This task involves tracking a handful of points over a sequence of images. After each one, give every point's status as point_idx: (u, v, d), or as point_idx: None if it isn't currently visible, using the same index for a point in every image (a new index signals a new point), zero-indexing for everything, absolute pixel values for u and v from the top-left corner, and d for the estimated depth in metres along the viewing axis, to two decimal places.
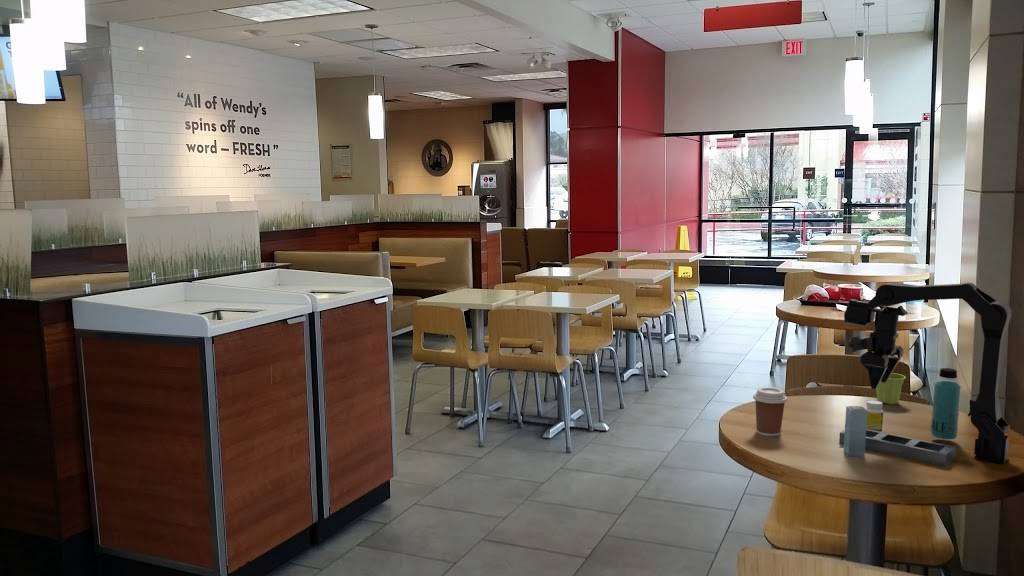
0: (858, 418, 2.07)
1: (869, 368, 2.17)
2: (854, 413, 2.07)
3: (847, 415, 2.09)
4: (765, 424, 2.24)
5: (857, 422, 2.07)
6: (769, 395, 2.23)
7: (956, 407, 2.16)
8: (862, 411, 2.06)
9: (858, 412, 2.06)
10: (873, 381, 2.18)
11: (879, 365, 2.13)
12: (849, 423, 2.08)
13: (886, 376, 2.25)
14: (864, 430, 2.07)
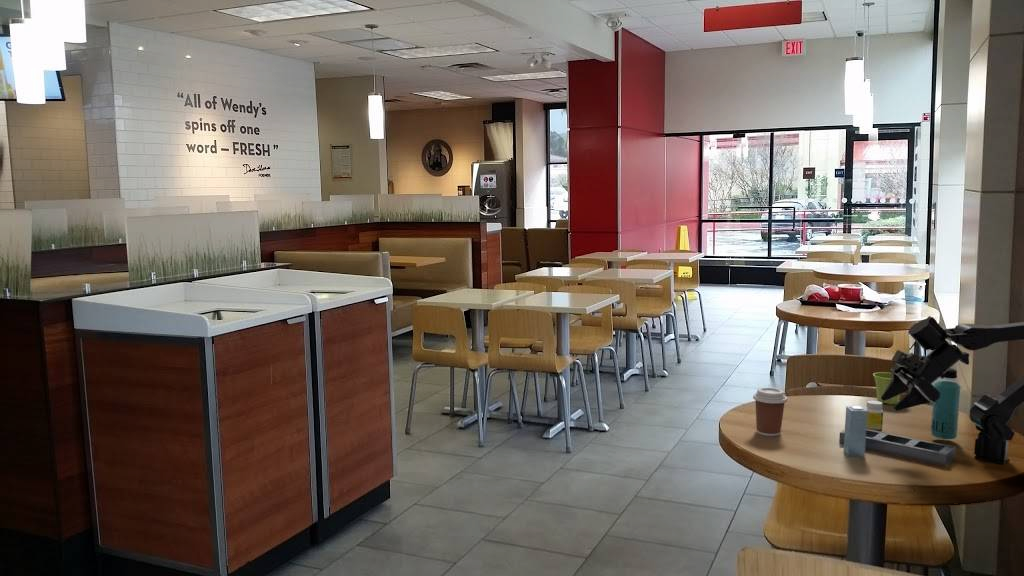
0: (858, 418, 2.07)
1: (912, 392, 2.00)
2: (854, 413, 2.07)
3: (847, 415, 2.09)
4: (765, 424, 2.24)
5: (857, 422, 2.07)
6: (769, 395, 2.23)
7: (956, 407, 2.16)
8: (862, 411, 2.06)
9: (858, 412, 2.06)
10: (902, 403, 2.02)
11: (932, 399, 1.97)
12: (849, 423, 2.08)
13: (889, 396, 2.12)
14: (864, 430, 2.07)
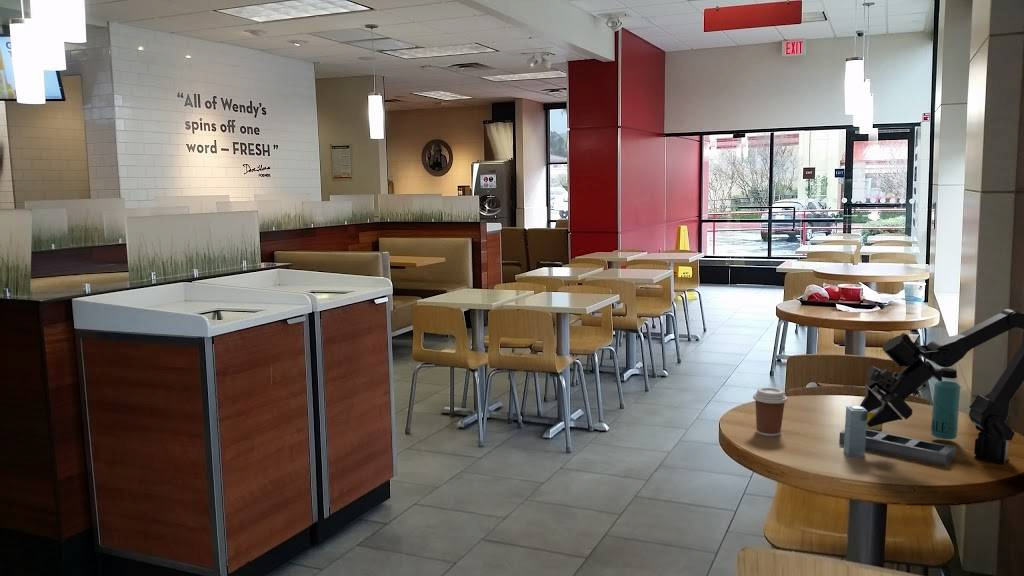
0: (858, 418, 2.07)
1: (885, 409, 2.01)
2: (854, 413, 2.07)
3: (847, 415, 2.09)
4: (765, 424, 2.24)
5: (857, 422, 2.07)
6: (769, 395, 2.23)
7: (956, 407, 2.16)
8: (862, 411, 2.06)
9: (859, 412, 2.06)
10: (875, 420, 2.03)
11: (905, 416, 1.98)
12: (849, 423, 2.08)
13: None
14: (864, 430, 2.07)
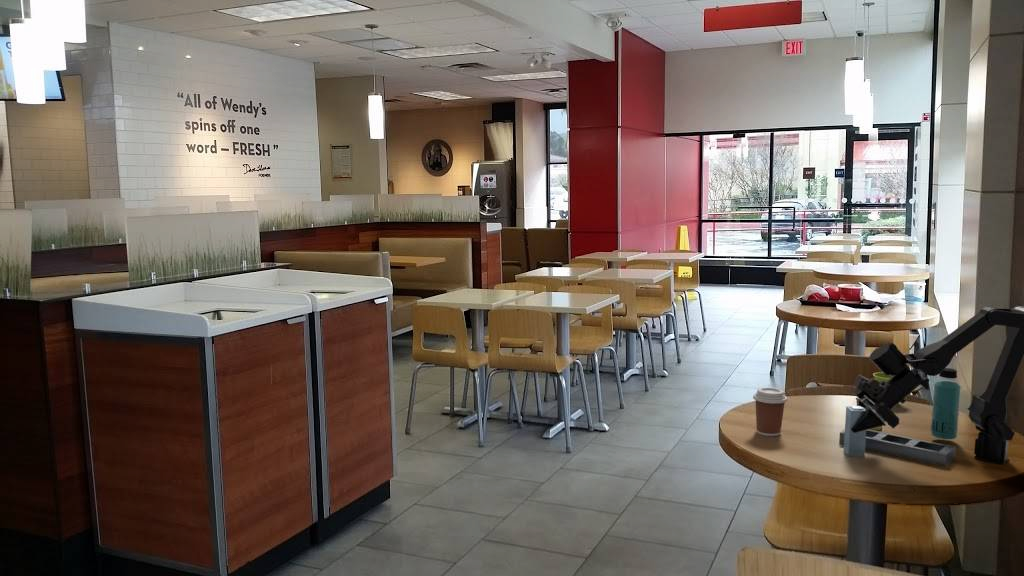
0: (858, 418, 2.07)
1: (869, 415, 2.04)
2: (854, 413, 2.07)
3: (847, 415, 2.09)
4: (765, 424, 2.24)
5: None
6: (769, 395, 2.23)
7: (956, 407, 2.16)
8: (862, 411, 2.06)
9: (859, 412, 2.06)
10: (859, 426, 2.06)
11: (891, 425, 1.99)
12: (849, 423, 2.08)
13: None
14: (864, 430, 2.07)
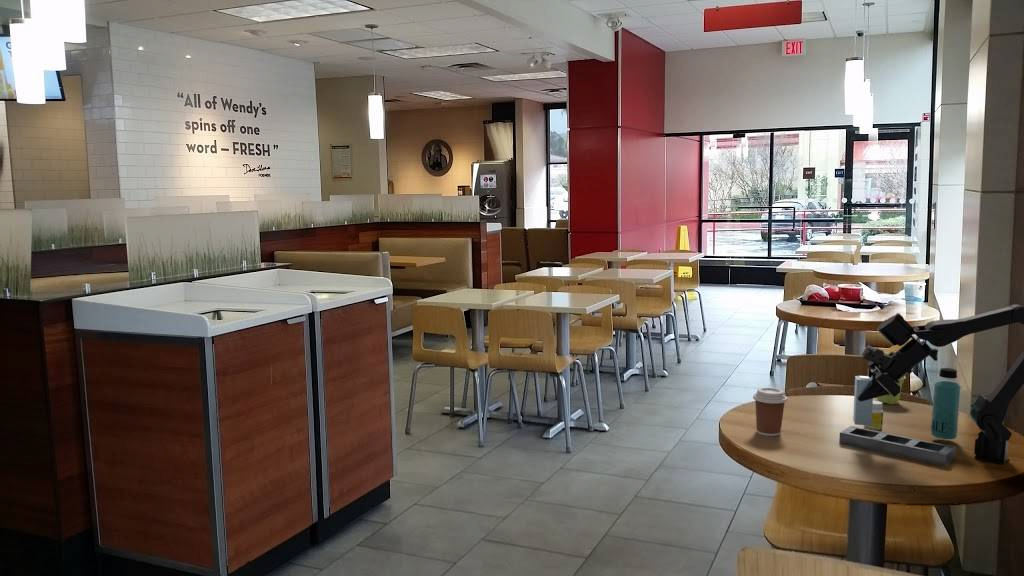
0: (864, 387, 2.11)
1: (874, 384, 2.09)
2: (860, 382, 2.12)
3: (855, 384, 2.14)
4: (765, 424, 2.24)
5: None
6: (769, 395, 2.23)
7: (956, 407, 2.16)
8: (868, 380, 2.11)
9: (865, 381, 2.11)
10: (865, 394, 2.11)
11: (892, 393, 2.03)
12: (856, 392, 2.13)
13: None
14: (870, 399, 2.11)
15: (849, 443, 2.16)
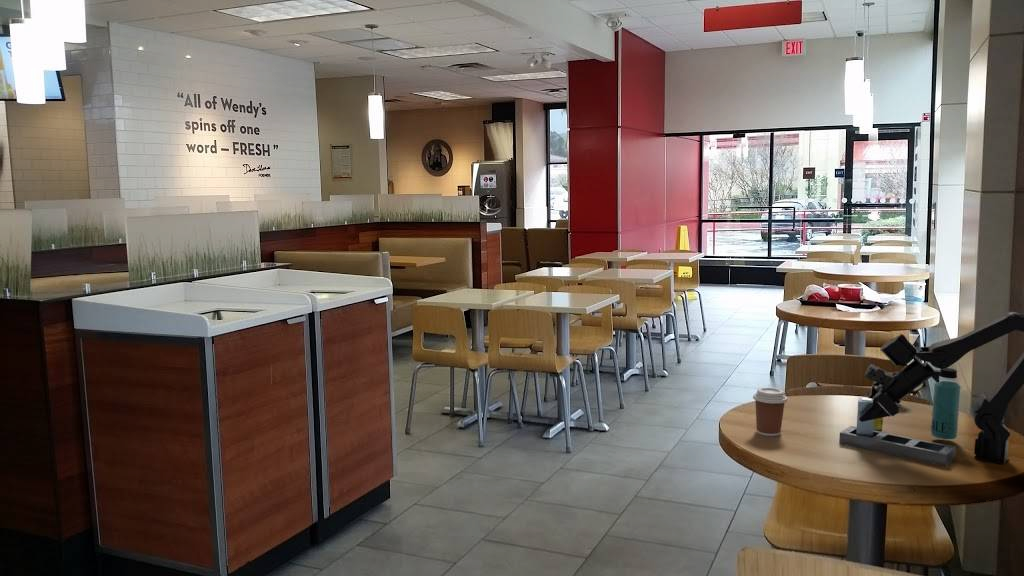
0: (865, 409, 2.15)
1: (875, 405, 2.10)
2: (861, 404, 2.15)
3: None
4: (765, 424, 2.24)
5: None
6: (769, 395, 2.23)
7: (956, 407, 2.16)
8: (870, 403, 2.14)
9: (866, 403, 2.15)
10: (866, 415, 2.12)
11: (890, 413, 2.06)
12: (857, 413, 2.16)
13: None
14: (871, 421, 2.15)
15: (849, 443, 2.16)
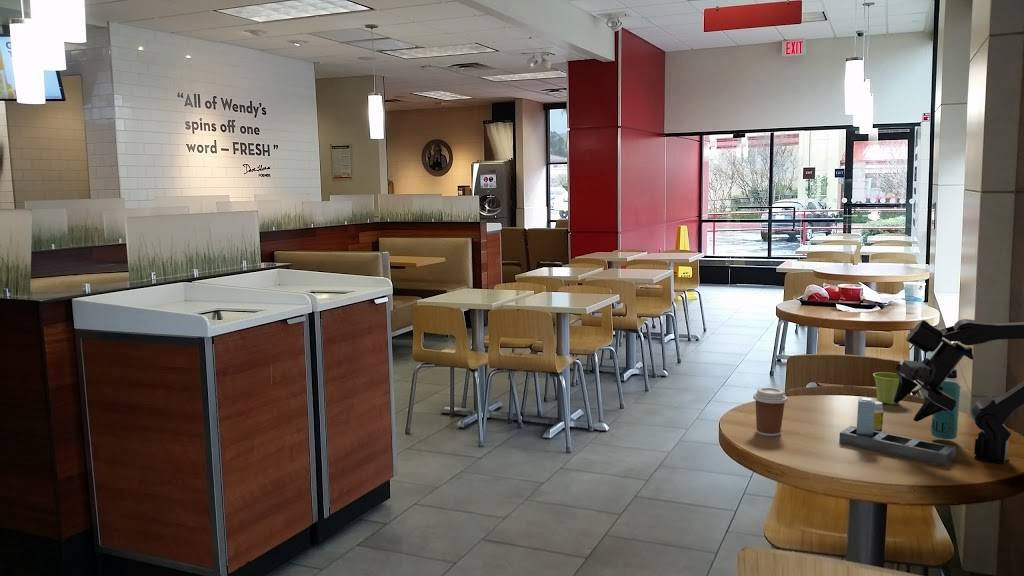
0: (865, 409, 2.15)
1: (930, 405, 2.04)
2: (861, 404, 2.15)
3: None
4: (765, 424, 2.24)
5: (864, 413, 2.15)
6: (769, 395, 2.23)
7: (956, 407, 2.16)
8: (870, 403, 2.14)
9: (866, 403, 2.15)
10: (921, 415, 2.07)
11: (950, 409, 2.02)
12: None
13: (901, 398, 2.16)
14: (872, 421, 2.15)
15: (849, 443, 2.16)
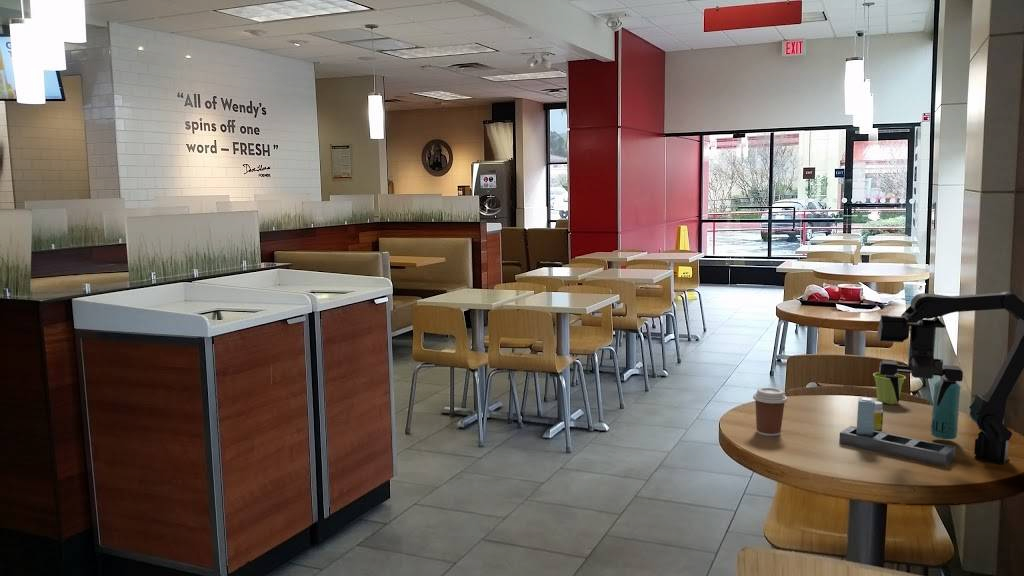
0: (866, 409, 2.15)
1: None
2: (861, 404, 2.15)
3: None
4: (765, 424, 2.24)
5: (864, 413, 2.15)
6: (769, 395, 2.23)
7: (956, 407, 2.16)
8: (870, 403, 2.14)
9: (866, 403, 2.15)
10: None
11: None
12: None
13: None
14: (872, 421, 2.15)
15: (849, 443, 2.16)
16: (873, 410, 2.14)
